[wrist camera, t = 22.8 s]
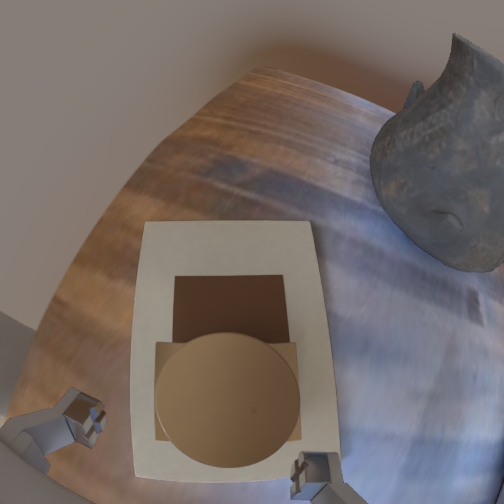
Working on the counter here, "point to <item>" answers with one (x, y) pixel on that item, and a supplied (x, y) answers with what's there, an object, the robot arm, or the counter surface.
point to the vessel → (448, 162)
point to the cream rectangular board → (231, 328)
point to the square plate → (501, 496)
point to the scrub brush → (227, 398)
